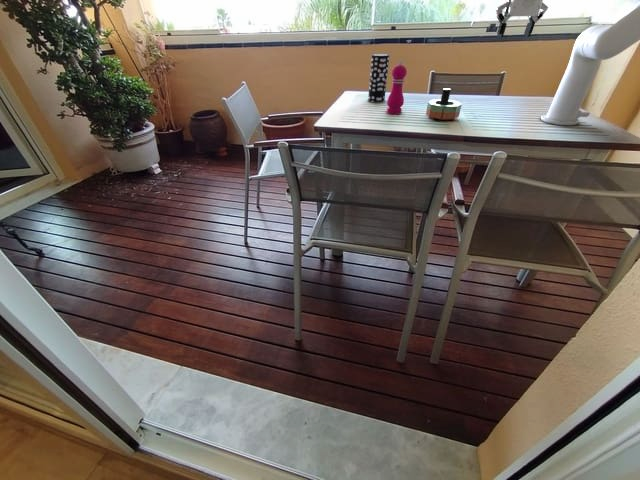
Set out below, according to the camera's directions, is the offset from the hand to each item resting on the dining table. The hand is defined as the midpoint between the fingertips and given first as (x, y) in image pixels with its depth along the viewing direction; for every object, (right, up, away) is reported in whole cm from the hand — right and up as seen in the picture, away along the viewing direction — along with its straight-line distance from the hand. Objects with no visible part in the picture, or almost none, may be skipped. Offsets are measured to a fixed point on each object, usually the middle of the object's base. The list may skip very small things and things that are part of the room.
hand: (513, 36), depth 107 cm
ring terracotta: (-18, -21, +18) cm, 33 cm away
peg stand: (-19, -22, +19) cm, 34 cm away
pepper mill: (-37, -17, +26) cm, 48 cm away
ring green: (-18, -19, +17) cm, 31 cm away
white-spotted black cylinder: (-41, -2, +45) cm, 61 cm away
